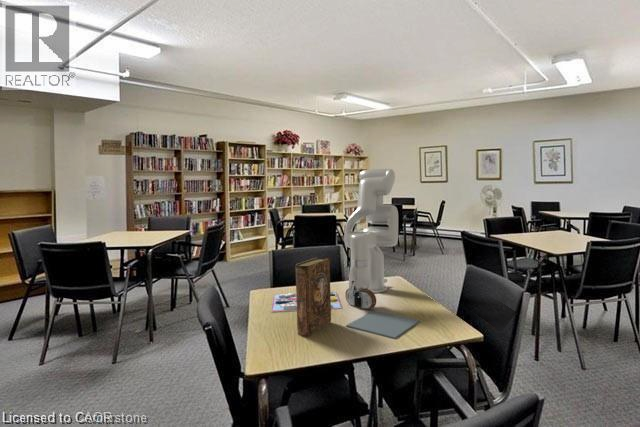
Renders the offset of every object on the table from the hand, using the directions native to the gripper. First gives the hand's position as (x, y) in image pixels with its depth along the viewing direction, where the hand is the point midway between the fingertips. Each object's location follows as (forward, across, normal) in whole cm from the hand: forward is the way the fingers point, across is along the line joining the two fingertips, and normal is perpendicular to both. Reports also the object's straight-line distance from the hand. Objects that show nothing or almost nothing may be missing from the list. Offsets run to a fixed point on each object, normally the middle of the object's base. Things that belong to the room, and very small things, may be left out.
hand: (360, 304), depth 163 cm
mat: (+1, +12, +18) cm, 22 cm away
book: (+1, +30, -1) cm, 30 cm away
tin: (+1, 0, 0) cm, 1 cm away
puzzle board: (+2, +8, -24) cm, 25 cm away
